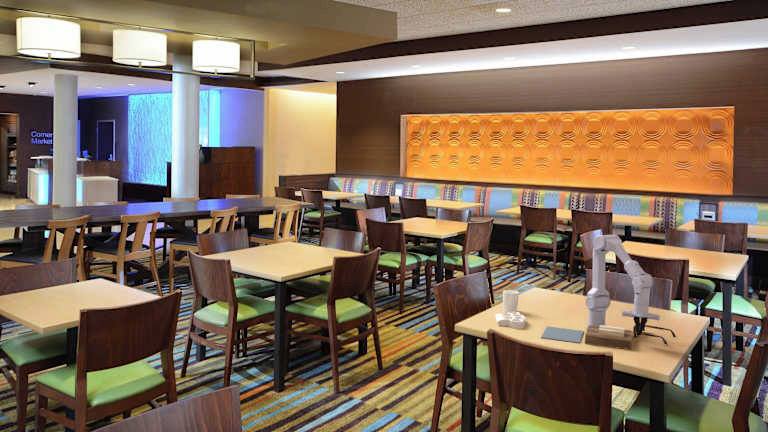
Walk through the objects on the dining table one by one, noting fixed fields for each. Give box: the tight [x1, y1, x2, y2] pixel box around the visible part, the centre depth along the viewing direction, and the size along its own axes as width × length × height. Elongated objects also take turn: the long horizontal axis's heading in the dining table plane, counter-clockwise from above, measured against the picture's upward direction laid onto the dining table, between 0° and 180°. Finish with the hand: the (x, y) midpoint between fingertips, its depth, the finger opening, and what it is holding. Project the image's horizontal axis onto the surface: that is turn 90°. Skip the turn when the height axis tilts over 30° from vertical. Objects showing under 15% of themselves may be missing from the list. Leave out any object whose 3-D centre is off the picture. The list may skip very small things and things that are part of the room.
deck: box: [584, 324, 633, 350], centre depth 259 cm, size 16×18×4 cm
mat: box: [540, 326, 584, 344], centre depth 266 cm, size 18×16×1 cm
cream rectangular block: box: [599, 325, 626, 337], centre depth 258 cm, size 7×10×2 cm
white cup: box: [502, 289, 520, 313], centre depth 304 cm, size 8×8×10 cm
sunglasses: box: [632, 321, 677, 345], centre depth 265 cm, size 14×15×5 cm
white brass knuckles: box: [494, 311, 530, 330], centre depth 284 cm, size 3×18×15 cm
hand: (639, 334), depth 254 cm, fingers closed
